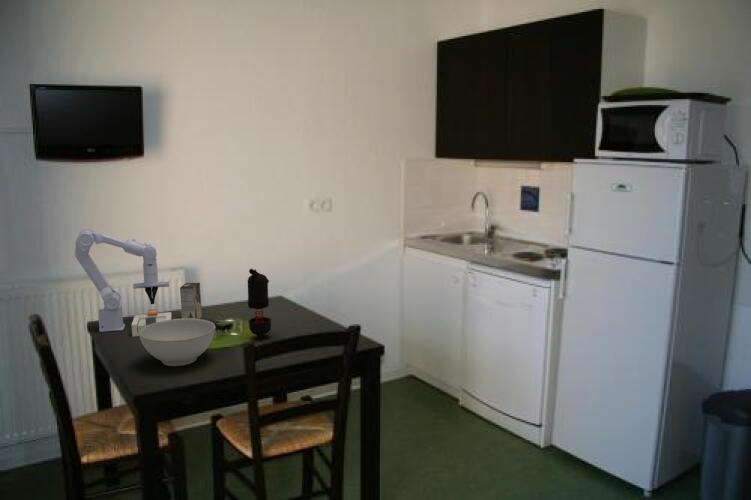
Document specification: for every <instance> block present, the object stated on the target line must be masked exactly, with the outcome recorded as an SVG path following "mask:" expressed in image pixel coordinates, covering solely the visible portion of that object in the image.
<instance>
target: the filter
mask: <svg viewBox="0 0 751 500" xmlns="http://www.w3.org/2000/svg"><path fill="white" fill-rule="evenodd" d="M248 272H249V274H250V276H248V277H247V278H248V279H247V306H248V308H250V309H254V310H255V311H254V314H255V316H254V317H252V318H250V319H249V320H248V327H249V330H250V333H252V334H253V335H256V337H257V338H258V339H263V338H264V337H265V336H264V335H266V334H267V333H269V332H270V330H271V329H272V319H271V318H270V317H266V316H264V315H263V314H264V313H265V311H263V309H266V308H268V307H269V306H270V304H269V302H270V301H269V299H270V298H269V282H270V280H269V279H268V277H267V276H266V275H264V274H262V273H260V272H258V271H257V269H253V268H249V270H248ZM257 310H258V311H257ZM260 310H261V311H260Z"/></svg>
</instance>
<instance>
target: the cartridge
mask: <svg viewBox="0 0 751 500" xmlns="http://www.w3.org/2000/svg"><path fill="white" fill-rule="evenodd" d="M160 321H165V318H156V317H146V318H145V319H140V321H139V324H138V333H139V331H140V330H141V329H142V328H144V327H145V326H147V325H150V324H153V323H156V322H160Z"/></svg>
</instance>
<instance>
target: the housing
mask: <svg viewBox="0 0 751 500" xmlns="http://www.w3.org/2000/svg"><path fill="white" fill-rule="evenodd" d="M146 317H156V318H165V320H171V319H172V311H169V312H158V313H156V316H150V315H149V314H147V313H142V314H135V315H134V317H133V320H132V322H131V334H132V335H131V336H132V337H139V333H138V324H139V321H140V319H145V318H146Z"/></svg>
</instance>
